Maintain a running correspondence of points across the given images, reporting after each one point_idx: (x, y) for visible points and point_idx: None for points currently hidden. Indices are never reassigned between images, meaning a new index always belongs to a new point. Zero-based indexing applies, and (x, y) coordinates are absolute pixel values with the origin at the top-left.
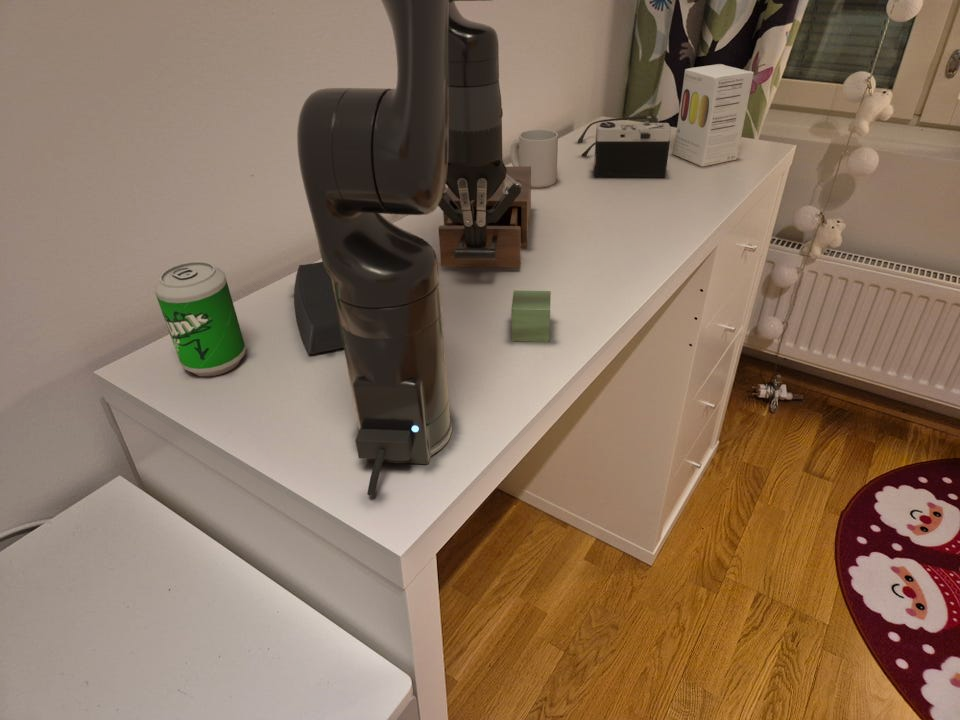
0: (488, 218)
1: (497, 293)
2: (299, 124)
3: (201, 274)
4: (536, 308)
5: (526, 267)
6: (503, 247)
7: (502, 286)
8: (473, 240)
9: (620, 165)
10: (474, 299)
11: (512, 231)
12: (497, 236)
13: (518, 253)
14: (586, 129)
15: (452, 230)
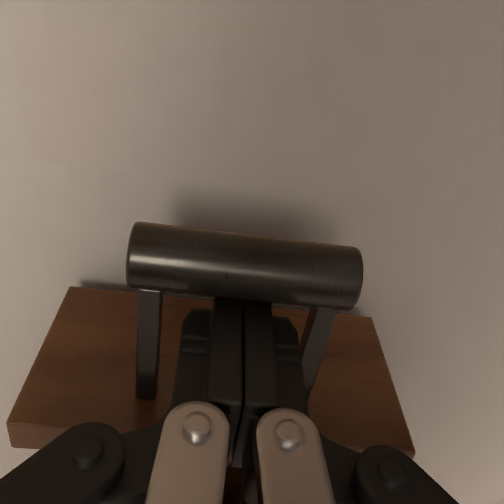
0: (137, 461)
1: (157, 128)
2: None
3: None
4: None
5: (59, 305)
6: (116, 353)
7: (138, 183)
8: (253, 336)
9: None
10: (258, 85)
11: (50, 415)
12: (133, 398)
13: (57, 327)
14: None
15: (348, 440)
